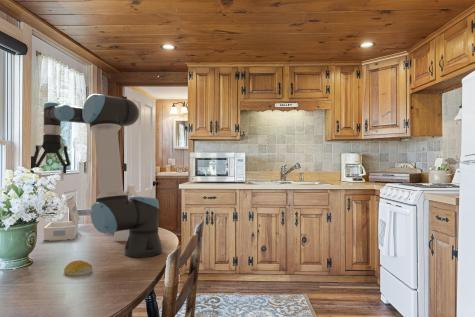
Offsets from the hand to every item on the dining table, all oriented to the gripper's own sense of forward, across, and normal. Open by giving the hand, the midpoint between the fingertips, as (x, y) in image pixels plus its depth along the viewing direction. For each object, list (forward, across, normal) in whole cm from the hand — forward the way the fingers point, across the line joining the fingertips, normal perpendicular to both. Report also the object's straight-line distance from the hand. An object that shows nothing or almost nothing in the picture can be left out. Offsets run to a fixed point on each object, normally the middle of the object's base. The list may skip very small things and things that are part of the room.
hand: (51, 180), depth 174 cm
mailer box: (+28, -5, 0) cm, 28 cm away
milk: (+28, -37, +12) cm, 48 cm away
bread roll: (+28, -20, +63) cm, 72 cm away
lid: (+15, -10, 0) cm, 18 cm away
